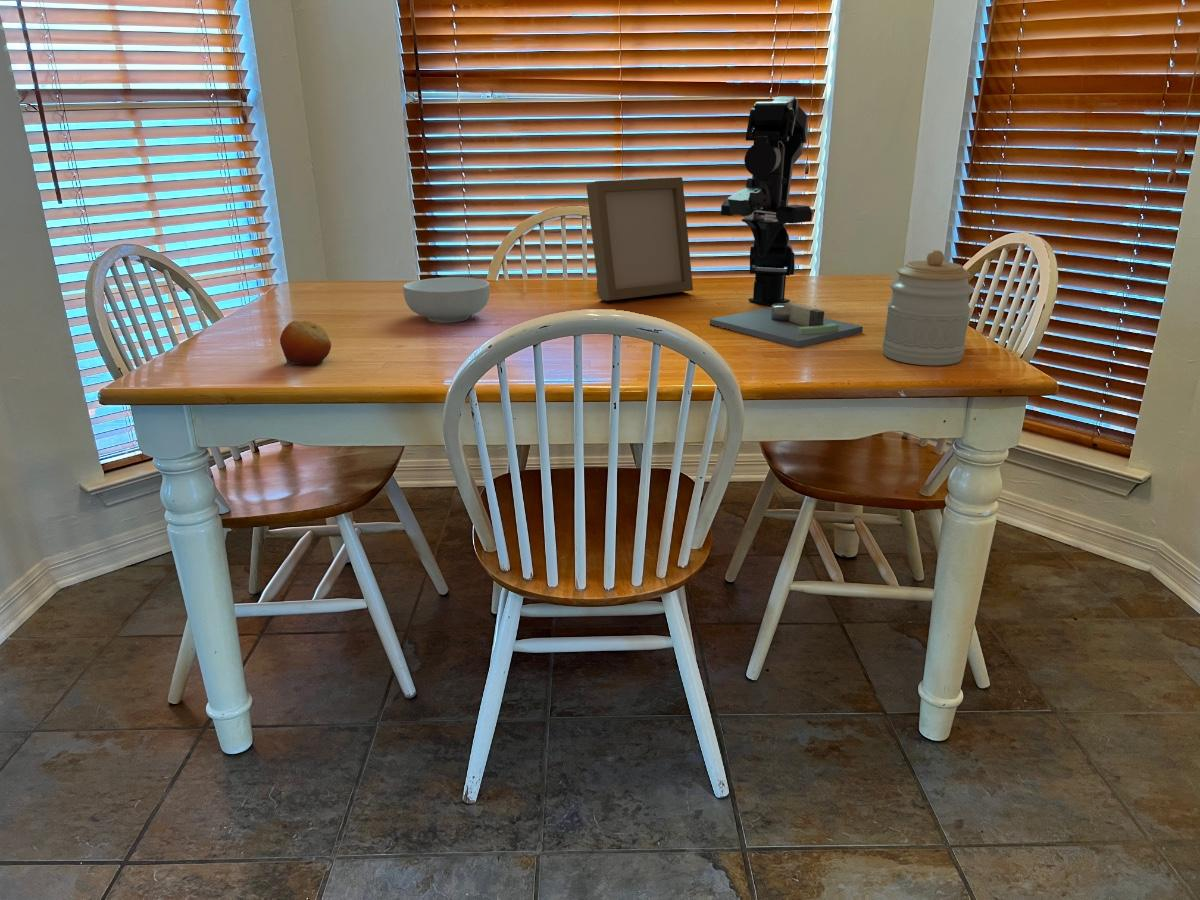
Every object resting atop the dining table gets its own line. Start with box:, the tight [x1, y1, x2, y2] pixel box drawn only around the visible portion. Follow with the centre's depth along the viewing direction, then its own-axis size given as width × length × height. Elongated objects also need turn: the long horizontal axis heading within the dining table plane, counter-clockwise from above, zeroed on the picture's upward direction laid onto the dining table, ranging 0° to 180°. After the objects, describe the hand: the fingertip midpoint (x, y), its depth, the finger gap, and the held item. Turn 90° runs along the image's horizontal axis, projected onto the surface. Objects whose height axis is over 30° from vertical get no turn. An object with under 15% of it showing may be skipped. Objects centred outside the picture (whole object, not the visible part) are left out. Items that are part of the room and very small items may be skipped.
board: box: [709, 306, 864, 349], centre depth 163 cm, size 18×22×2 cm
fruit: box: [279, 320, 332, 367], centre depth 141 cm, size 8×8×8 cm
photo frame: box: [586, 176, 694, 302], centre depth 191 cm, size 15×22×25 cm
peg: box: [771, 301, 825, 327], centre depth 162 cm, size 12×5×3 cm, turn 28°
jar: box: [882, 249, 975, 367], centre depth 142 cm, size 13×13×18 cm
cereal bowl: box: [402, 276, 491, 324], centre depth 172 cm, size 17×17×7 cm
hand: (762, 256), depth 169 cm, fingers closed
